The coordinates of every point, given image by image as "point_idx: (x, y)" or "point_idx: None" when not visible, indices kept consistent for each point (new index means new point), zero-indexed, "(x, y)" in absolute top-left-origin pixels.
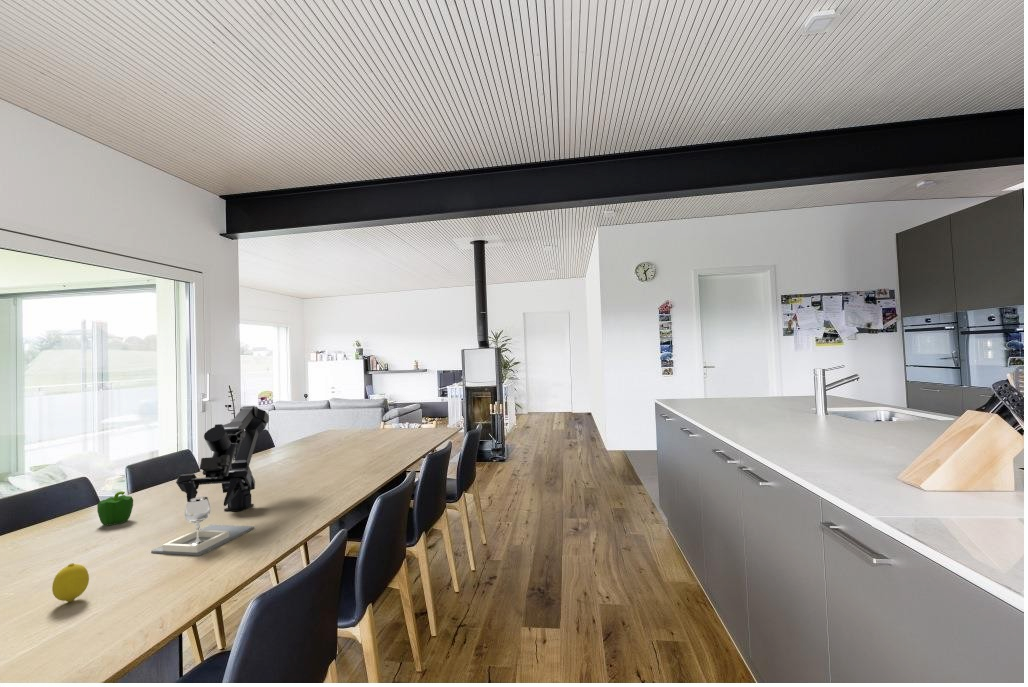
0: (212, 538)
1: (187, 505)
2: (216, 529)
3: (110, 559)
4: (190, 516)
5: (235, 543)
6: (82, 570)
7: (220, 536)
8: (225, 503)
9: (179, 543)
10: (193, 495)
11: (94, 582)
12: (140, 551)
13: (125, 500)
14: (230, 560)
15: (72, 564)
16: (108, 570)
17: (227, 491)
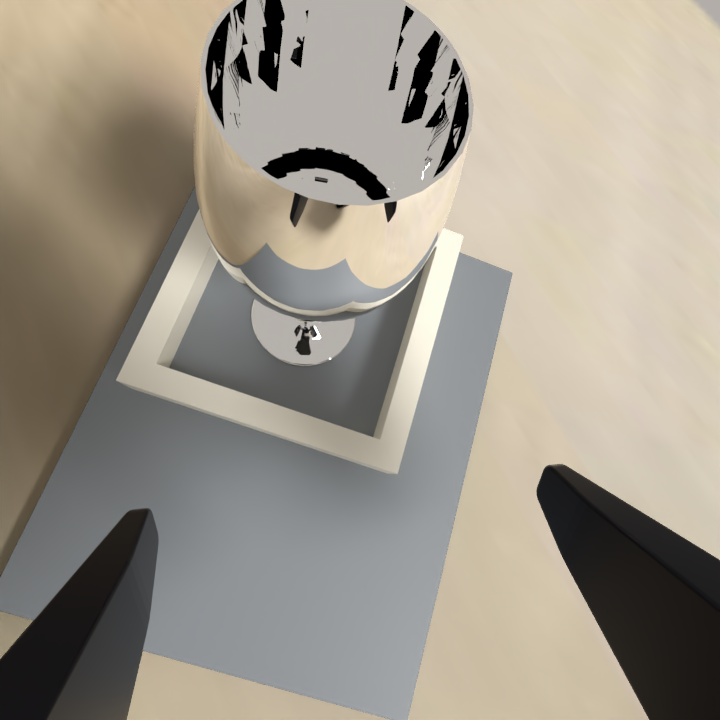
0: (188, 256)
1: (411, 51)
2: (299, 579)
3: (645, 251)
4: (336, 110)
5: (59, 297)
6: None
7: (154, 305)
8: (123, 524)
9: (410, 321)
10: (687, 680)
11: (527, 37)
12: (578, 317)
13: None
14: (5, 53)
15: None
16: (559, 130)
17: (43, 707)
